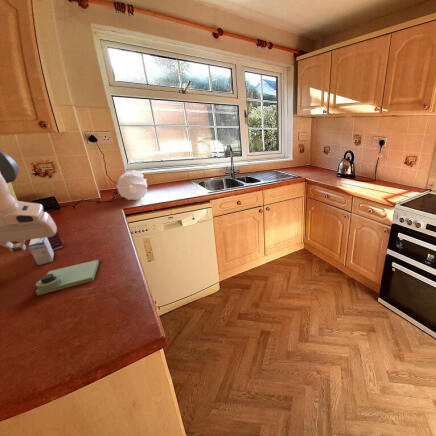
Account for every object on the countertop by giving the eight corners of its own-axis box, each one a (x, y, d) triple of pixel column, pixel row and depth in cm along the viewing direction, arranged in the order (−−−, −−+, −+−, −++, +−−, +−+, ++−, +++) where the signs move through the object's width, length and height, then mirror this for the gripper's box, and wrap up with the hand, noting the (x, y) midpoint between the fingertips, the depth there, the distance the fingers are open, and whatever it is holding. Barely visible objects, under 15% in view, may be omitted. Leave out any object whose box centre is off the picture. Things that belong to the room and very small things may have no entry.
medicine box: (39, 257, 97) (30, 238, 93) (54, 253, 99) (46, 234, 96) (37, 265, 91) (27, 245, 88) (53, 261, 94) (44, 241, 90)
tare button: (41, 285, 75) (39, 280, 75) (44, 280, 78) (42, 275, 77) (54, 282, 77) (51, 277, 76) (56, 277, 79) (54, 272, 78)
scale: (36, 296, 74) (32, 288, 73) (50, 274, 85) (46, 267, 84) (93, 281, 81) (90, 273, 80) (99, 262, 92) (96, 255, 91)
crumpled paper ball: (130, 207, 164) (131, 196, 184) (153, 193, 168) (152, 184, 188) (108, 186, 154) (111, 177, 173) (134, 171, 158) (134, 163, 177)
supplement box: (64, 246, 105) (49, 212, 99) (50, 252, 101) (34, 216, 95) (54, 243, 108) (39, 210, 102) (40, 248, 104) (23, 213, 98)
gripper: (-69, 226, 60) (-37, 264, 68) (44, 215, 70) (60, 250, 78) (-57, 211, 64) (-28, 249, 72) (48, 203, 74) (63, 237, 82)
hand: (19, 249), depth 75 cm, fingers closed
